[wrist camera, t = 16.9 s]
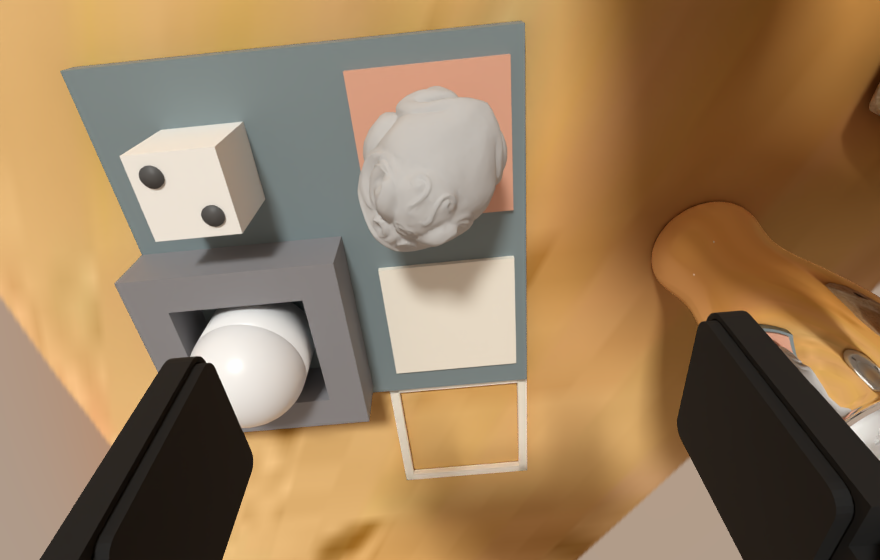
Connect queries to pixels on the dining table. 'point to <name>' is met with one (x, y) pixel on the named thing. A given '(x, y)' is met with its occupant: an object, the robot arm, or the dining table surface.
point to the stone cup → (875, 101)
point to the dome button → (259, 358)
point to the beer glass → (779, 304)
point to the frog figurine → (430, 169)
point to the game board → (316, 214)
